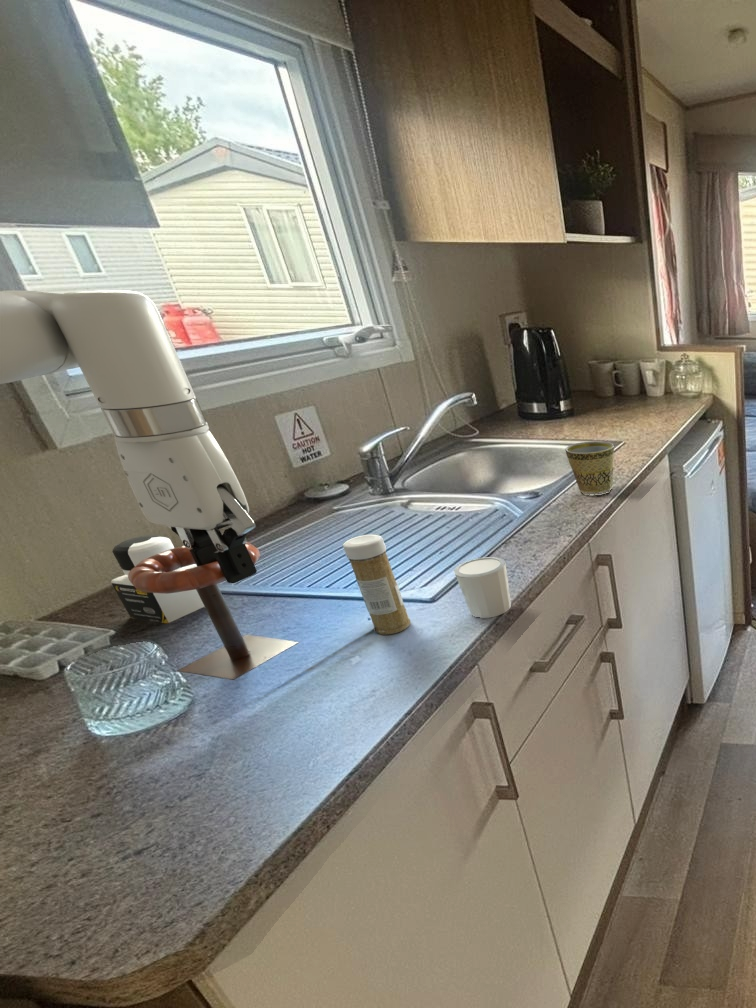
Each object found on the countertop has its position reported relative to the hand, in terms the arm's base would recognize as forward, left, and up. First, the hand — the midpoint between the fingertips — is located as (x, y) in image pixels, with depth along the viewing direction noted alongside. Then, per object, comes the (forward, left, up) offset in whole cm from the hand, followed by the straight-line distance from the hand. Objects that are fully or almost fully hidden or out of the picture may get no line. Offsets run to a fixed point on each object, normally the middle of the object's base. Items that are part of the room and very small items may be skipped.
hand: (230, 575), depth 78 cm
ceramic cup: (+5, +74, -13) cm, 75 cm away
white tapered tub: (+17, +20, -13) cm, 30 cm away
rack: (-5, 0, -13) cm, 14 cm away
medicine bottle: (-27, +8, -13) cm, 31 cm away
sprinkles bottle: (+7, +12, -13) cm, 19 cm away
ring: (-5, 0, +1) cm, 5 cm away
